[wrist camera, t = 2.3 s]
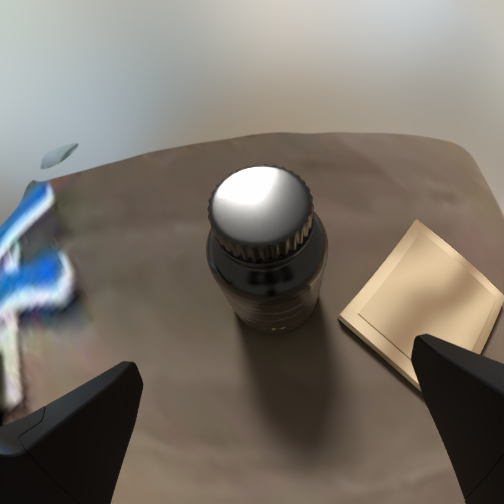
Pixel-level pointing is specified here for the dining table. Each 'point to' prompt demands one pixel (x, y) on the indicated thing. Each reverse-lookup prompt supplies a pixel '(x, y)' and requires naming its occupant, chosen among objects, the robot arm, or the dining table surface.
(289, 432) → the dining table surface
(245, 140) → the dining table surface
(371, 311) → the coaster
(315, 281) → the supplement bottle
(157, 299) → the dining table surface
